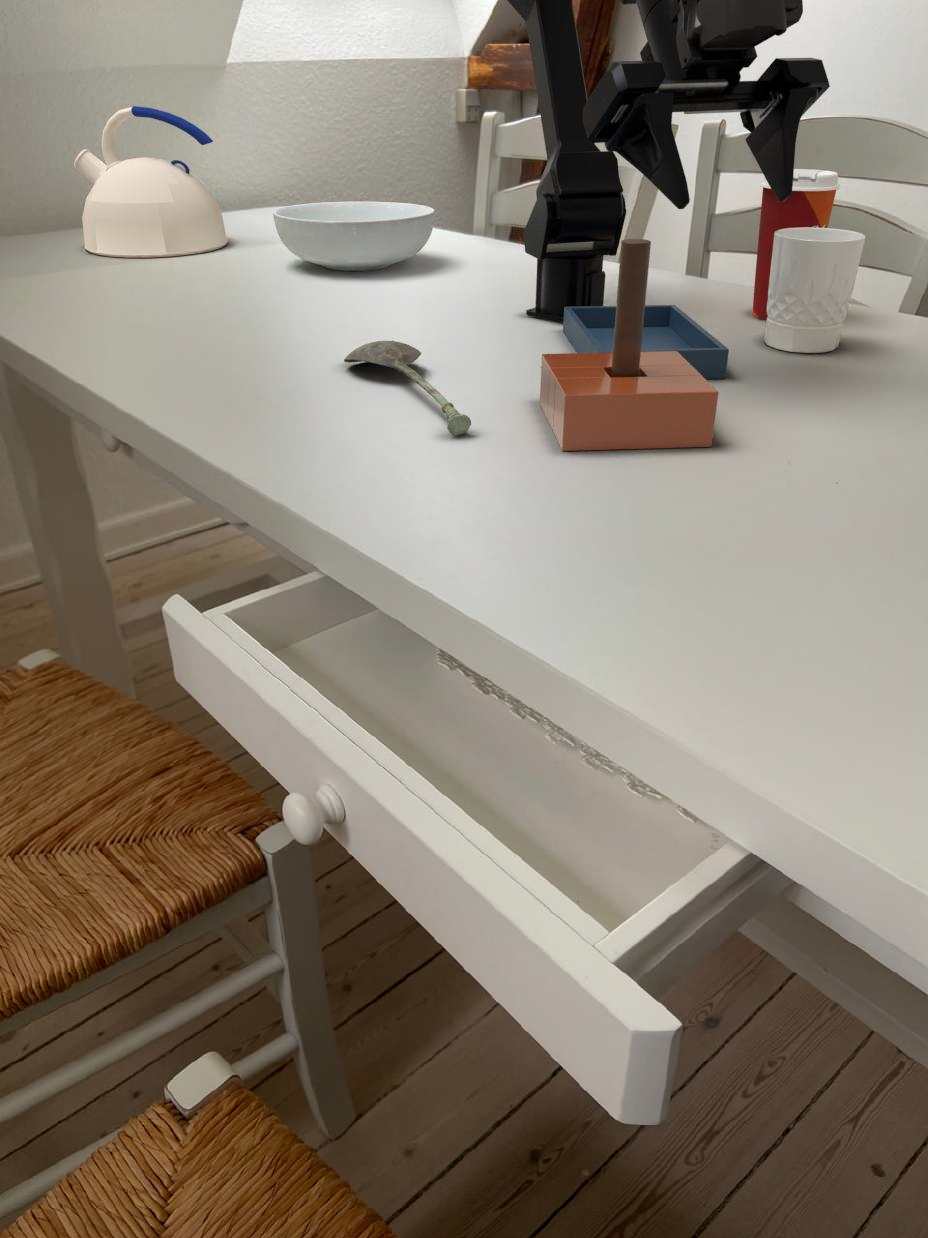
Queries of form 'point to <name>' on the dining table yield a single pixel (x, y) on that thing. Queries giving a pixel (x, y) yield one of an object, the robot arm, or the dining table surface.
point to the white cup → (810, 287)
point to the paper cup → (790, 220)
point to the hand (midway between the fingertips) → (736, 201)
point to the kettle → (147, 199)
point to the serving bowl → (354, 232)
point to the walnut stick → (630, 307)
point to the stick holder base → (626, 402)
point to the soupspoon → (399, 358)
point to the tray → (648, 335)
